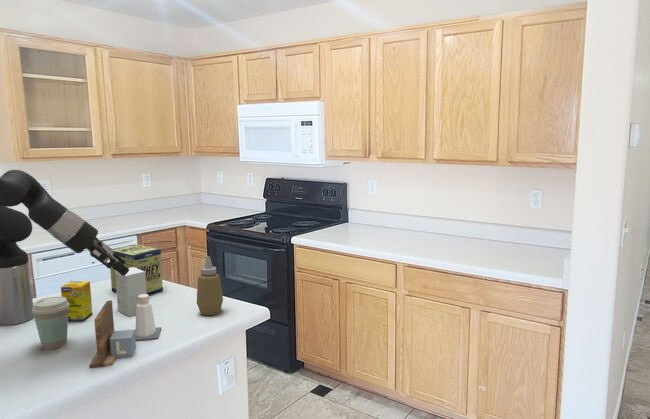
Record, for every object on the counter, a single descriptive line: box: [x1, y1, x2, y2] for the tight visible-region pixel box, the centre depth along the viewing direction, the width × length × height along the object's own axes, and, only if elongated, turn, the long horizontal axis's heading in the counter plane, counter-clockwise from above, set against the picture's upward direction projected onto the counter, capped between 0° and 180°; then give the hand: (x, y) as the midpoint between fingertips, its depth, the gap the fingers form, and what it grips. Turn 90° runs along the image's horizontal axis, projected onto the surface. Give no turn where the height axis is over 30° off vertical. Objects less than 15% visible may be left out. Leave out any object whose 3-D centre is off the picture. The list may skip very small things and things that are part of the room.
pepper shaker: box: [134, 294, 157, 337], centre depth 129 cm, size 5×5×11 cm
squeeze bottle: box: [196, 255, 224, 316], centre depth 145 cm, size 8×8×18 cm
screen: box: [89, 299, 117, 369], centre depth 118 cm, size 5×13×12 cm, turn 13°
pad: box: [135, 326, 162, 342], centre depth 130 cm, size 7×7×1 cm
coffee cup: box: [32, 296, 69, 350], centre depth 123 cm, size 9×9×12 cm
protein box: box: [109, 243, 164, 297], centre depth 165 cm, size 10×16×16 cm
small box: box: [115, 267, 147, 317], centre depth 147 cm, size 8×6×13 cm
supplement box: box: [60, 280, 93, 323], centre depth 141 cm, size 6×6×11 cm
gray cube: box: [110, 329, 137, 359], centre depth 119 cm, size 5×5×5 cm
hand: (125, 268), depth 125 cm, fingers open, 8 cm apart
